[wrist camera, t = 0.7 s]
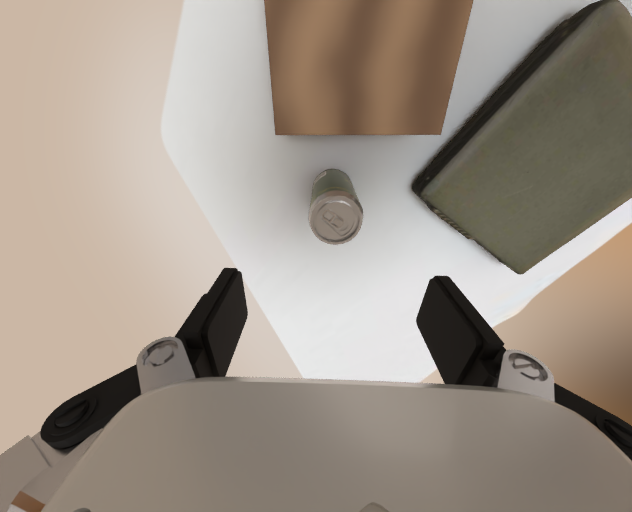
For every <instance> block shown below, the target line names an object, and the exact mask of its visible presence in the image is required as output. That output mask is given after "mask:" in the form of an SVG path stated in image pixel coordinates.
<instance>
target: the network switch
mask: <svg viewBox="0 0 632 512" xmlns="http://www.w3.org/2000/svg"><path fill="white" fill-rule="evenodd" d="M412 189H413V191H414V193H415V194H417V195H418V196H419V197H420V198H421V199H422V200H423V201H424V202H426V204H427V206H428V207H429V208H430V210H432V211H433V212H435V213H436V214H437V215H438V216H439V217H440V218H441V219H442V220H444V221H446V222H447V223H449V224H450V226H452V227H453V228H455V229H456V230H457V231H458V232H460V233H461V234H462V235H464V236H465V237H466V238H467V239H474V240H475V241H476V242H477V244H479V245H481V246H483V247H484V249H485V250H487V251H489V252H490V253H491V254H492V255H493V256H494V257H496V258H497V259H498V260H499V262H501V263H503V264H504V265H506V266H507V267H509V268H510V269H511V270H513V271H514V272H516V273H517V274H524V273H525V272H526V271H528V270H529V269H530V268H532V267H533V266H535V265H536V264H537V263H539V262H540V261H542V260H543V259H544V258H546V257H547V256H549V255H550V254H551V253H553V252H554V251H556V250H557V249H559V248H560V247H561V246H563V245H564V244H566V243H568V242H569V241H570V240H572V239H573V238H575V237H576V236H578V235H579V234H580V233H582V232H583V231H585V230H586V229H588V228H589V227H590V226H592V225H593V224H595V223H596V222H598V221H599V220H601V219H602V218H603V217H605V216H606V215H608V214H609V213H610V212H612V211H613V210H615V209H616V208H618V207H619V206H620V205H622V204H623V203H625V202H626V201H628V200H629V199H631V198H632V17H631V15H630V13H629V12H628V10H627V8H626V7H625V6H624V5H623V4H622V3H621V2H620V1H618V0H601V1H598V2H595V3H592V4H590V5H588V6H586V7H585V8H583V9H581V10H580V11H579V12H577V13H576V14H575V15H573V16H572V17H571V18H569V19H567V20H565V21H563V22H562V23H561V24H560V25H559V26H558V27H557V28H556V29H555V31H554V32H552V33H551V34H550V35H549V36H548V37H546V38H545V40H544V41H543V42H542V43H541V44H540V45H539V46H538V47H537V48H536V50H535V51H534V52H533V53H532V54H531V55H530V56H529V57H528V58H527V60H526V61H525V62H524V63H523V64H522V65H521V66H520V67H519V68H518V69H517V70H516V71H515V72H514V74H513V75H512V76H511V77H510V78H509V79H508V80H507V81H506V83H505V84H504V85H503V86H502V87H501V88H500V89H499V90H498V91H497V92H496V93H495V94H494V95H493V96H492V98H491V99H490V100H489V101H488V102H487V103H486V104H485V105H484V107H483V108H482V109H481V110H480V111H479V112H478V113H477V114H476V115H475V116H474V117H473V118H472V119H471V120H470V121H469V122H468V123H467V125H465V127H464V128H463V129H462V130H461V131H460V132H459V133H458V135H457V136H456V137H455V138H454V139H453V140H452V141H451V142H450V143H449V144H448V145H447V147H446V148H445V149H444V150H443V151H442V152H441V153H440V154H439V155H438V156H437V157H436V158H435V160H434V161H433V162H432V164H431V165H430V166H429V167H428V168H427V169H426V170H425V171H424V172H423V173H422V174H421V175H420V176H419V177H418V179H417V180H416V181H415V183H414V184H413V186H412Z"/></svg>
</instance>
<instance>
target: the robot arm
mask: <svg viewBox="0 0 632 512" xmlns="http://www.w3.org/2000/svg"><path fill="white" fill-rule="evenodd" d="M247 313H248V312H247V306H246V299H245V293H244V286H243V280H242V274H241V272H240V271H238V270H237V269H236V268H224V269H223V270H222V272H221V274H220V275H219V277H218V278H217V280H216V281H215V282H214V284H213V286H212V287H211V289H210V290H209V292H208V293H207V294H204V295H203V296H202V297H201V299H200V300H199V302H198V303H197V305H196V306H195V308H194V309H193V310H192V312H191V314H190V315H189V317H188V318H187V319H186V321H185V323H184V324H183V325H182V327H181V328H180V330H179V331H178V333H177V334H176V336H175V337H165V338H161V339H158V340H156V341H154V342H152V343H150V344H149V345H147V346H146V347H145V348H144V349H143V350H142V351H141V352H140V354H139V355H138V357H137V363H136V365H134V366H132V367H130V368H128V369H126V370H124V371H123V372H121V373H119V374H117V375H115V376H113V377H111V378H109V379H107V380H105V381H103V382H101V383H100V384H97V385H96V386H93V387H92V388H90V389H88V390H86V391H84V392H82V393H80V394H78V395H76V396H74V397H72V398H71V399H69V400H67V401H66V402H64V403H63V404H61V405H60V406H59V407H58V408H56V409H55V410H54V411H53V412H52V413H51V414H50V416H48V418H47V419H46V421H45V422H44V424H43V426H42V428H41V431H40V432H39V433H37V434H36V435H35V436H33V437H32V438H31V437H30V436H26V437H25V438H24V439H22V440H21V441H19V442H18V443H16V444H15V445H14V446H12V447H11V448H9V449H8V450H7V451H5V452H4V453H2V454H1V455H0V512H632V426H631V425H629V424H628V423H626V422H625V421H623V420H621V419H620V418H618V417H616V416H615V415H613V414H611V413H609V412H607V411H605V410H603V409H602V408H600V407H598V406H596V405H594V404H592V403H591V402H589V401H587V400H585V399H583V398H581V397H579V396H578V395H576V394H574V393H572V392H570V391H568V390H566V389H565V388H563V387H561V386H559V385H557V384H556V383H554V378H553V374H552V373H551V371H550V370H549V368H548V367H547V366H546V365H545V364H544V363H542V362H541V361H540V360H538V359H537V358H536V357H534V356H532V355H530V354H528V353H525V352H523V351H519V350H507V351H506V349H505V348H504V347H503V345H504V343H503V342H502V340H501V339H500V338H499V337H498V335H497V334H496V333H495V332H494V331H493V329H492V328H491V327H490V326H489V325H488V323H487V322H486V321H485V320H484V319H483V317H482V316H481V315H480V314H479V312H478V311H477V310H476V309H475V308H474V306H473V305H472V304H471V303H470V302H469V300H468V299H467V298H466V297H465V296H464V294H463V293H462V292H461V291H460V289H459V288H458V287H457V286H456V285H455V283H454V282H453V281H452V280H451V279H450V277H448V276H435V277H434V278H433V279H430V281H429V284H428V287H427V289H426V292H425V295H424V298H423V301H422V304H421V307H420V310H419V313H418V315H417V319H416V322H417V326H418V328H419V330H420V332H421V334H422V336H423V339H424V341H425V343H426V345H427V347H428V349H429V351H430V353H431V356H432V358H433V360H434V362H435V364H436V366H437V368H438V370H439V372H440V374H441V377H442V379H443V381H444V383H445V384H433V383H409V382H386V381H359V380H332V379H302V378H301V379H300V378H271V377H225V375H226V373H227V370H228V367H229V365H230V362H231V359H232V357H233V354H234V351H235V349H236V346H237V343H238V341H239V338H240V335H241V333H242V330H243V328H244V325H245V322H246V319H247V315H248V314H247Z"/></svg>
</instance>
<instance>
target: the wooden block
mask: <svg viewBox="0 0 632 512" xmlns="http://www.w3.org/2000/svg"><path fill="white" fill-rule="evenodd" d="M264 3H265V15H266V27H267V39H268V51H269V63H270V75H271V87H272V99H273V111H274V122H275V134H276V135H441V131H442V127H443V123H444V119H445V115H446V111H447V107H448V102H449V98H450V94H451V90H452V86H453V82H454V78H455V74H456V70H457V65H458V61H459V57H460V53H461V49H462V45H463V41H464V37H465V32H466V28H467V24H468V20H469V16H470V12H471V8H472V4H473V0H264Z"/></svg>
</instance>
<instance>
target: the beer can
mask: <svg viewBox="0 0 632 512" xmlns="http://www.w3.org/2000/svg"><path fill="white" fill-rule="evenodd" d="M308 219H309V224H310V227H311V229H312V231H313V232H314V234H315V236H316V237H318V238H319V239H320V240H321V241H323V242H326V243H328V244H335V245H336V244H343V243H345V242H348V241H350V240H351V239H352V238H354V237H355V236H356V235H357V233H358V232H359V230H360V228H361V224H362V220H363V209H362V207H361V205H360V202H359V200H358V197H357V195H356V193H355V190H354V188H353V186H352V183H351V181H350V179H349V177H348V176H347V175H346V174H345V173H344V172H342V171H340V170H336V169H330V170H326V171H324V172H322V173H320V174H319V176H318V177H317V178H316V179H315V182H314V184H313V190H312V196H311V203H310V209H309V216H308Z"/></svg>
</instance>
